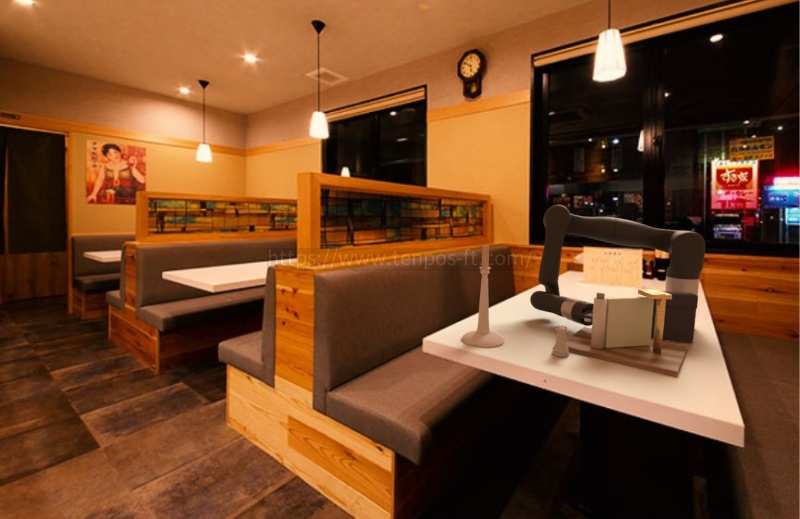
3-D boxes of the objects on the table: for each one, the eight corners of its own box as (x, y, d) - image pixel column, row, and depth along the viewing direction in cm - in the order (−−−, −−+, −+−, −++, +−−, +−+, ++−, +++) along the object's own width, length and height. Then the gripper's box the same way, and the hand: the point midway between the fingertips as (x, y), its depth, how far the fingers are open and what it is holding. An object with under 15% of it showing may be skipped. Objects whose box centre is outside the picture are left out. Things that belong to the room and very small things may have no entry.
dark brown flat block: (688, 339, 118) (692, 292, 117) (693, 344, 114) (698, 295, 113) (647, 335, 122) (651, 290, 120) (651, 340, 118) (655, 292, 116)
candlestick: (456, 343, 114) (458, 244, 111) (469, 332, 126) (471, 241, 122) (498, 350, 108) (502, 246, 105) (508, 338, 120) (512, 243, 116)
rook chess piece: (567, 358, 102) (569, 330, 101) (550, 355, 105) (551, 327, 104) (570, 353, 106) (571, 326, 105) (553, 350, 108) (554, 323, 108)
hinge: (595, 349, 105) (599, 294, 104) (588, 345, 109) (591, 292, 107) (651, 345, 108) (656, 292, 106) (642, 342, 111) (647, 290, 109)
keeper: (633, 348, 110) (638, 289, 108) (651, 348, 110) (656, 289, 108) (647, 357, 103) (652, 294, 101) (666, 358, 103) (672, 294, 101)
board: (583, 330, 127) (583, 327, 127) (687, 350, 109) (687, 346, 109) (558, 349, 110) (558, 345, 110) (676, 376, 91) (677, 371, 91)
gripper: (563, 301, 123) (609, 314, 107) (595, 299, 127) (643, 311, 111) (562, 324, 124) (607, 340, 107) (593, 320, 128) (641, 336, 112)
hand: (625, 325), depth 109 cm, fingers closed
